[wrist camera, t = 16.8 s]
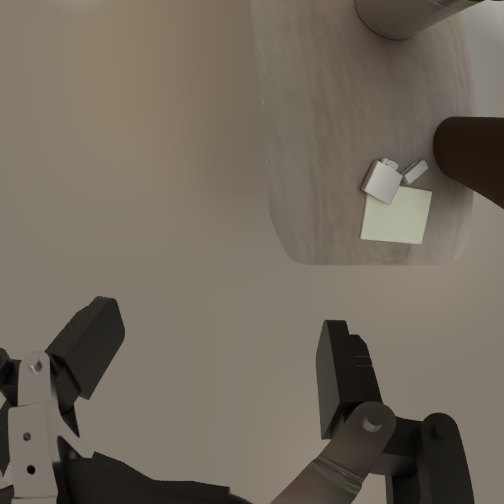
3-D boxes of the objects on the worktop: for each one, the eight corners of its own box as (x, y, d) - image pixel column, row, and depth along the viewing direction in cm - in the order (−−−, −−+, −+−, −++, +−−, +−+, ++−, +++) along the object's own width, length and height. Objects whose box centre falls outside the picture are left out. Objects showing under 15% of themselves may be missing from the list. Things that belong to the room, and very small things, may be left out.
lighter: (364, 190, 32) (388, 135, 30) (360, 189, 34) (384, 135, 31) (407, 216, 33) (431, 163, 30) (402, 213, 34) (425, 162, 32)
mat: (368, 181, 34) (369, 182, 33) (430, 191, 33) (432, 191, 33) (359, 237, 37) (360, 239, 37) (419, 242, 37) (420, 244, 36)
